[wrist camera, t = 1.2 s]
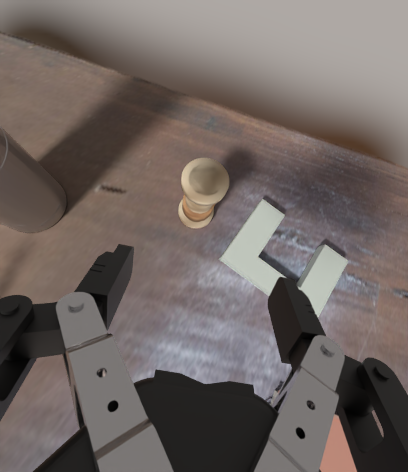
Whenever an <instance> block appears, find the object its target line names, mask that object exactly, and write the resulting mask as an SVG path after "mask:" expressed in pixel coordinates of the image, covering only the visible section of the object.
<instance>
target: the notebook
mask: <svg viewBox="0 0 408 472" xmlns="http://www.w3.org/2000/svg"><path fill="white" fill-rule="evenodd" d="M279 391H280V390H279ZM279 391H276V390H275V391H274V394H273V398H272V401H271V404H270V405H271V406H272V404H273V402H274V400H275V399H276V397H277V395H278V393H279ZM320 470H321V472H357V470H356V467H355V464H354V461H353V458H352V455H351V452H350V449H349V446H348V443H347V440H346V437H345V434H344V431H343V428H342V425H341V422H340V419H339V416H338V415H336V414H334V418H333V421H332V425H331V428H330V432H329V436H328V439H327V443H326V447H325V450H324V454H323V458H322V461H321V465H320Z"/></svg>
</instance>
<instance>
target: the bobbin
mask: <svg viewBox="0 0 408 472" xmlns="http://www.w3.org/2000/svg"><path fill="white" fill-rule="evenodd" d="M181 187H182V190H183V193H184V197H183V199H182V201H181V202H180V205H179V211H178V213H179V218H180V220H181V221H182V223H183V224H184V225H185V226H187V227H189V228H192V229H200V228H203V227H205V226H206V225H208V224H209V222H210V221H211V219H212V217H213V214H214V206H215V204H216V203H218V202H219V201H220V200H221V199H222V198H223V197H224V196H225V194H226V192H227V190H228V187H229V176H228V173H227V171H226V169H225V168H224V167H223V166H222V165H221V164H220V163H219V162H217V161H215V160H213V159H210V158H198V159H195V160H193V161H191V162H190V163H188V164H187V165H186V167H185V168H184V170H183V173H182V179H181Z"/></svg>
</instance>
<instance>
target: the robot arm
mask: <svg viewBox="0 0 408 472" xmlns="http://www.w3.org/2000/svg"><path fill="white" fill-rule="evenodd" d="M66 205H67V198H66V194H65V191H64V189H63V188H62V186H61V185H60V184H59V183H58V182H57V181H56V180H55V179H54V178H53V177H52V176H51V175H50V174H49V173H48V172H47V171H46V170H45V169H44V168H43V167H42V166H41V165H40V164H39V163H38V162H37V161H36V160H35V159H34V158H33V157H32V156H31V155H30V154H29V153H27V152H26V151H25V150H24V149H23V148H22V147H21V146H20V145H19V144H18V143H17V142H16V141H15V140H14V139H13V138H12V137H11V136H10V135H9V134H8V133H7V132H6V131H5V130H4V129H3V128H2V127H1V126H0V224H2V225H5V226H7V227H10V228H12V229H15V230H17V231H20V232H25V233H35V232H40V231H43V230H46V229H48V228H50V227H52V226H53V225H54V224H55V223H57V222H58V221H59V219H60V218H61V217H62V216H63V213H64V211H65V209H66ZM133 255H134V247H131V246H126V245H121V244H119V245H118V246H117V248H116V250H115V251H114V253H112V252H105V253H103V254H102V255H100V256H99V257H98V258H97V260H96V261H95V262H94V265H92V267H91V268H90V271H88V273H87V274H86V275H85V277H84V278H83V280H82V281H81V283H80V284H79V286H78V287H77V289H76V290H75V291H74V292H73V293H70V294H67V295H65V296H64V297H62V298H61V299H60V300H59V301H58V302H55V303H45V304H32V301H31V299H29V298H28V297H26V296H22V295H12V296H7V297H4V298H1V299H0V421H1V419H2V417H3V416H4V414H5V412H6V410H7V409H8V407H9V405H10V404H11V402H12V400H13V398H14V397H15V395H16V393H17V392H18V390H19V388H20V386H21V385H22V383H23V381H24V380H25V378H26V376H27V374H28V373H29V371H30V369H31V368H32V366H33V364H34V362H35V361H36V359H37V358H39V357H46V356H53V355H60V354H62V356H63V360H64V364H65V369H66V373H67V377H68V381H69V386H70V390H71V395H72V400H73V405H74V410H75V415H76V419H77V423H78V428H79V430H78V431H77V432H76V433H75V434H74V435H73V436H72V437H71V438H70V439H68V440H67V441H66V442H65V443H64V444H63V445H62V446H61V447H60V448H59V449H57V450H56V451H55V452H54V453H53V454H52V455H51V456H50V457H49V458H47V459H46V460H45V461H44V462H43V463H42V464H41V465H40V466H39V467H38V468H36V469H35V470H34V471H33V472H321V470H320V465H321V461H322V458H323V454H324V450H325V447H326V443H327V439H328V436H329V432H330V428H331V425H332V421H333V418H334V414H335V410H337V413H338V416H339V419H340V422H341V425H342V428H343V431H344V434H345V437H346V440H347V443H348V446H349V449H350V452H351V455H352V458H353V461H354V464H355V467H356V470H357V472H408V395H407V393H406V391H405V390H404V388H403V386H402V385H401V383H400V381H399V380H398V378H397V376H396V375H395V373H394V372H393V371H392V370H391V369H390V368H389V367H388V366H387V365H386V364H384V363H383V362H381V361H379V360H377V359H375V358H366V359H365V360H364V361H363V362H362V363H361V362H359V361H356V360H354V359H352V358H350V357H348V356H346V355H344V353H343V351H342V349H341V348H340V346H339V345H338V344H337V343H336V342H335V341H333V340H332V339H330V338H328V337H326V335H325V333H324V330H323V328H322V326H321V324H320V322H319V320H318V317H317V315H316V314H315V311H314V309H313V307H312V304H311V302H310V300H309V298H308V297H307V296H306V294H305V293H304V292H303V291H302V290H299V289H298V286H297V284H296V282H295V280H294V279H289V278H284V277H279V278H278V280H277V282H276V284H275V286H274V288H273V290H272V292H271V294H270V296H269V298H268V309H269V313H270V317H271V321H272V325H273V329H274V333H275V337H276V341H277V345H278V349H279V353H280V357H281V361H282V363H287V364H291V367H292V369H291V370H290V372H289V374H288V376H287V378H286V379H285V381H284V383H283V385H282V387H281V389H280V391H279V393H278V395H277V397H276V399H275V400H274V402H273V404H272V406H271V405H270V404H269V403H268V402H267V401H265V400H264V399H263V398H261V397H259V396H258V395H256V394H254V388H253V385H250V384H244V383H237V382H231V381H228V382H220V383H212V384H203V383H201V382H198V381H196V380H194V379H192V378H189V377H187V376H185V375H183V374H180V373H174V372H168V371H162V370H156V371H155V375H154V377H153V378H147V379H143V380H140V381H138V382H135V383H133V382H132V379H131V377H130V375H129V372H128V370H127V367H126V365H125V363H124V360H123V358H122V355H121V353H120V351H119V348H118V346H117V343H116V341H115V339H114V337H113V335H112V334H108V332H107V330H108V328H109V326H110V324H111V321H112V319H113V317H114V315H115V312H116V310H117V308H118V305H119V303H120V301H121V299H122V296H123V294H124V292H125V290H126V287H127V285H128V283H129V280H130V277H131V273H132V266H133ZM373 410H375V412H376V415H377V417H378V419H379V421H380V423H381V426H382V428H383V432H384V438H383V437H382V435H381V433H380V430H379V428H378V426H377V424H376V421H375V419H374V417H373V415H372V412H371V411H373Z"/></svg>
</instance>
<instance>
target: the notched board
mask: <svg viewBox="0 0 408 472" xmlns="http://www.w3.org/2000/svg"><path fill="white" fill-rule="evenodd" d="M284 216H285V215H284V214H283V213H281V212H280V211H279V210H277V209H276V208H274V207H273V206H272V205H270V204H269V203H268V202H266V201H265V200H263V199H262V200H261V201H260V202H259V203H258V204H257V206H256V207H255V209H254V210H253V212H252V213H251V214H250V216H249V217H248V219H247V220H246V221H245V223H244V224H243V226H242V227H241V229H240V230H239V231H238V233H237V234H236V236H235V237H234V238H233V240H232V241H231V243H230V244H229V246H228V247H227V248H226V250H225V251H224V253H223V254H222V256H221V257H220V258H219V260H221V261H222V262H223V263H225V264H226V265H227V266H229V267H230V268H231V269H233V270H234V271H235V272H237V273H238V274H240V275H241V276H242V277H244V278H245V279H246V280H248V281H249V282H250V283H252V284H253V285H254V286H256V287H257V288H259V289H260V290H261V291H263V292H264V293H265V294H267V295H268V296H270V294H271V292H272V290H273V288H274V286H275V284H276V282H277V280H278V278H279V277H284V278H286V277H285V276H283V275H282V274H281V273H279V272H278V271H277V270H275V269H274V268H272V267H271V266H270V265H268V264H267V263H266V262H264V261H263V260H262V259H260V258H259V257H258V256H259V254H260V253H261V251H262V250H263V248H264V247H265V245H266V244H267V242H268V240H269V239H270V237H271V236H272V234H273V233H274V231H275V230H276V228H277V227H278V225H279V224H280V222H281V221H282V219H283V218H284ZM347 262H348V260H346V259H345V258H343V257H342V256H341V255H339V254H338V253H337V252H335V251H334V250H332V249H331V248H330V247H328V246H327V245H326V244H325V245H322V246H319V247H318V248H317V250H316V251H315V253H314V255H313V256H312V258H311V260H310V262H309V263H308V265H307V267H306V268H305V270H304V272H303V274H302V275H301V277H300V279H299V280H298V282H297V286H298V289H299V290H302V291H303V292H304V293H305V294H306V296H307V297H308V298H309V300H310V302H311V304H312V307H313V309H314V311H315V314H316V315H317V317H319V315H320V313H321V311H322V309H323V307H324V306H325V304H326V302H327V300H328V298H329V296H330V294H331V292H332V291H333V289H334V287H335V285H336V283H337V281H338V279H339V277H340V276H341V274H342V272H343V270H344V268H345V266H346V264H347Z"/></svg>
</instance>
